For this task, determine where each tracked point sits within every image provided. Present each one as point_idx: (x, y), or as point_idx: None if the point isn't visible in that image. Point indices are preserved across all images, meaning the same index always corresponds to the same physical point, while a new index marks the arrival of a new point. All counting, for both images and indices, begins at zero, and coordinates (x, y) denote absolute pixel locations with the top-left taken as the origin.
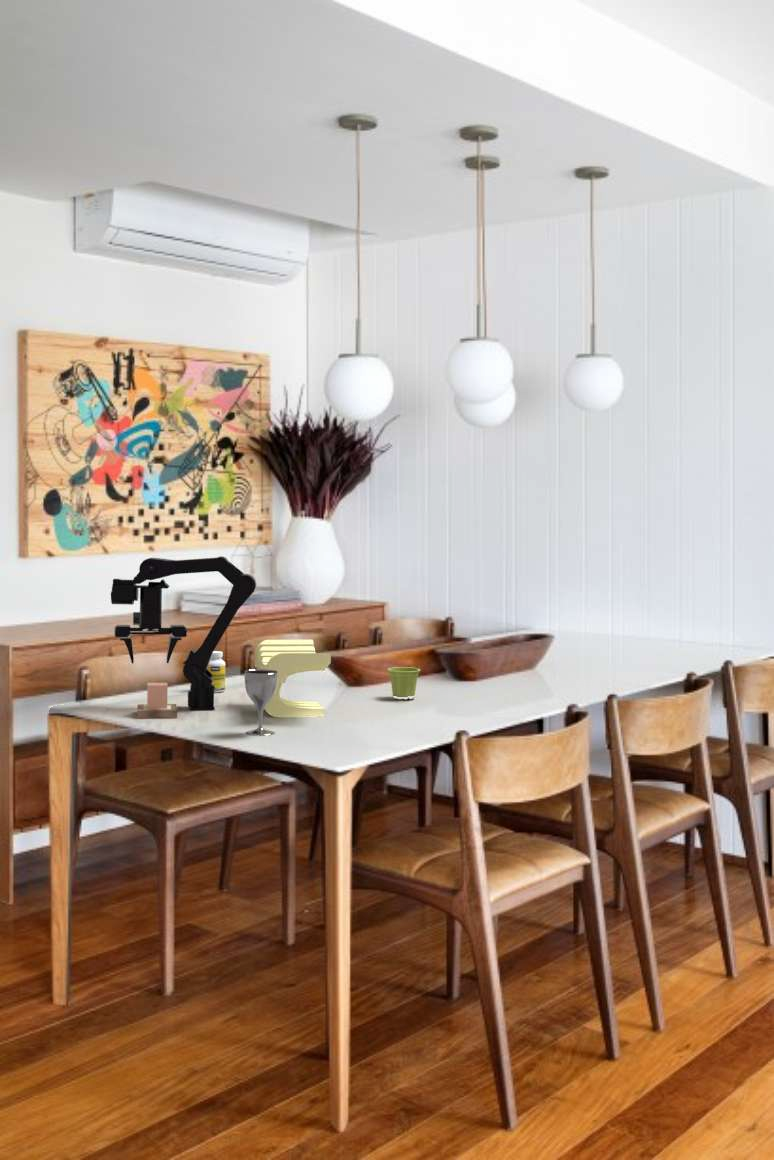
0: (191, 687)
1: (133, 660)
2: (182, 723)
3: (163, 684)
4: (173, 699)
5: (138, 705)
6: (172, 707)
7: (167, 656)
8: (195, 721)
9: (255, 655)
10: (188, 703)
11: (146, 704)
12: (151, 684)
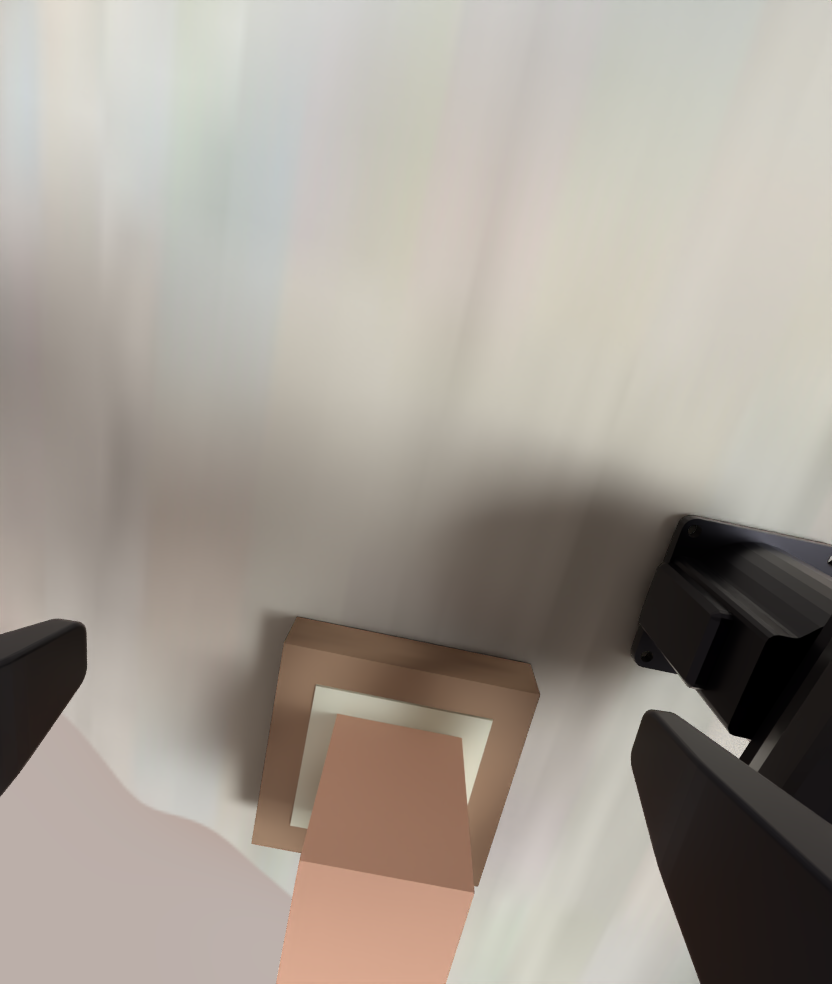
0: (727, 726)
1: (50, 726)
2: (458, 961)
3: (415, 973)
4: (701, 110)
5: (283, 685)
6: (478, 802)
7: (674, 910)
8: (535, 936)
9: None
10: (648, 633)
11: (342, 661)
12: (315, 949)
